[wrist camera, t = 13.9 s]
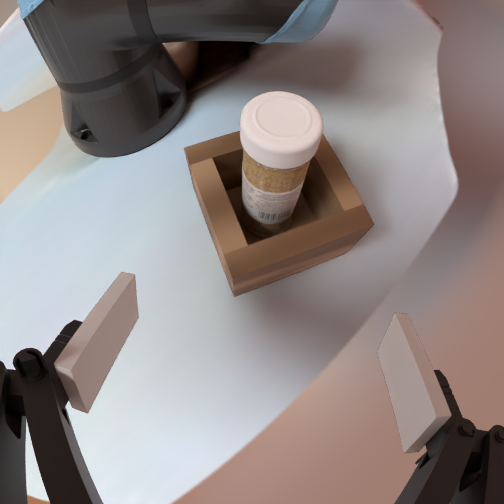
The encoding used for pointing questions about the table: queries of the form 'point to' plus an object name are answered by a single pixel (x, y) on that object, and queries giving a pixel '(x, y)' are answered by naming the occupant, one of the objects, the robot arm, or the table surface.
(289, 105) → the sprinkles bottle
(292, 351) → the table surface
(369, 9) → the table surface
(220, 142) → the walnut socket block
